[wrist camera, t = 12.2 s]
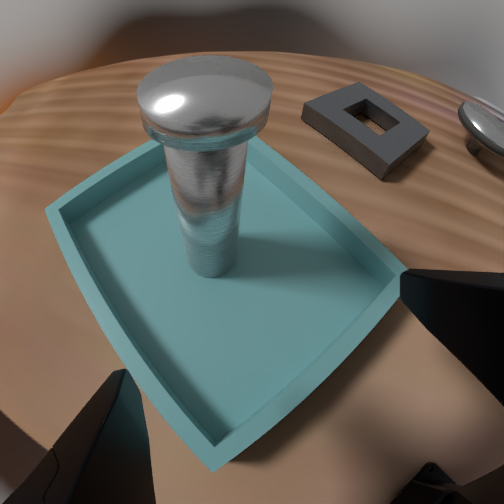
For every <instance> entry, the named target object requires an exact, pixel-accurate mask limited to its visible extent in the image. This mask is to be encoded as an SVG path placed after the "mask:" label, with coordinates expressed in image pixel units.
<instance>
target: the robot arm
mask: <svg viewBox="0 0 504 504" xmlns="http://www.w3.org/2000/svg"><path fill="white" fill-rule="evenodd" d="M400 298H401V300H402V302H403V303H404V304H405V305H406V306H407V307H408V308H409V309H410V311H411V312H412V313H413V314H414V315H415V316H416V317H417V318H418V320H419V321H420V322H421V323H422V324H423V325H424V326H425V328H426V329H427V330H428V331H429V332H430V333H431V334H433V335H434V336H435V337H436V338H437V339H438V340H439V341H440V342H441V343H442V344H443V345H444V346H445V347H446V348H447V349H448V350H449V351H450V352H451V353H452V354H453V355H454V356H455V357H456V358H457V359H458V360H459V361H460V362H461V363H462V364H463V365H464V366H465V367H466V368H467V369H468V370H469V371H470V372H471V373H472V374H473V375H474V376H475V377H476V378H477V379H478V380H479V381H480V382H481V383H482V384H483V385H484V386H485V387H486V388H487V389H488V390H489V391H490V392H491V393H492V394H493V395H494V396H495V397H496V399H497V400H498V401H499V402H500V403H501V404H502V405H503V406H504V273H494V272H471V271H449V270H428V269H408V270H406V271H404V272H402V273H401V275H400ZM52 447H53V448H51V449H50V450H49V451H48V452H47V454H46V455H45V456H44V458H43V459H42V460H41V461H40V462H39V464H38V465H37V466H36V467H35V469H34V470H33V471H32V472H31V473H30V474H29V475H28V477H27V478H26V479H25V480H24V481H23V482H22V483H21V484H20V485H19V486H18V487H17V488H16V489H15V491H14V492H13V493H12V494H11V495H10V496H9V497H8V498H7V499H6V500H5V501H4V502H3V504H156V500H155V493H154V485H153V476H152V467H151V456H150V445H149V437H148V431H147V426H146V421H145V416H144V410H143V404H142V398H141V393H140V391H139V389H138V387H137V385H136V383H135V382H134V380H133V378H132V376H131V374H130V373H129V371H128V370H127V369H120V370H116V371H113V372H112V373H111V375H110V376H109V377H108V378H107V379H106V381H105V382H104V383H103V384H102V385H101V387H100V388H99V389H98V390H97V392H96V393H95V394H94V395H93V396H92V398H91V399H90V400H89V401H88V403H87V404H86V405H85V406H84V407H83V409H82V410H81V411H80V412H79V414H78V415H77V416H76V417H75V419H74V420H73V421H72V422H71V423H70V425H69V426H68V427H67V428H66V430H65V431H64V432H63V433H62V435H61V436H60V437H59V439H58V440H57V441H56V442H55V444H54V445H53V446H52ZM430 467H431V469H430V471H429V472H428V469H429V468H430ZM390 504H504V465H503V466H501V467H499V468H497V469H495V470H494V471H492V472H490V473H488V474H486V475H484V476H482V477H480V478H478V479H476V480H474V481H472V482H470V483H468V484H466V485H464V486H461V485H457V484H456V483H455V482H454V481H453V480H452V479H451V478H450V477H449V476H448V475H447V474H446V473H444V472H443V471H442V470H441V469H440V468H439V467H438V466H437V465H436V464H435V463H432V462H429V463H427V464H426V465H425V466H424V467H423V468H422V469H421V470H420V472H419V473H418V474H417V475H416V476H415V478H414V479H413V480H412V481H411V482H410V483H409V484H408V485H407V486H406V487H405V488H404V489H403V490H402V492H401V493H400V494H399V495H398V496H397V497H396V498H395V499H394V500H393V501H392V502H391V503H390Z"/></svg>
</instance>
